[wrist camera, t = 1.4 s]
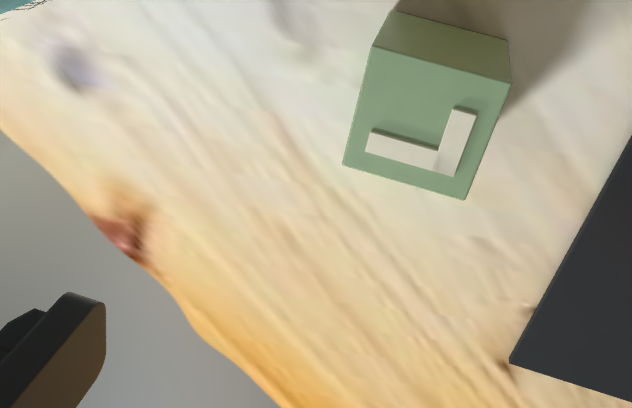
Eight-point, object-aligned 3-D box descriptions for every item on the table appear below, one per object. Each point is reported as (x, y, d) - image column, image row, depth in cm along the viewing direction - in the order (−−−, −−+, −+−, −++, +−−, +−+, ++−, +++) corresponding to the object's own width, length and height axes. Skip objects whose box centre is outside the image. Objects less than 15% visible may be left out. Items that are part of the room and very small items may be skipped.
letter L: (390, 9, 23) (371, 46, 19) (508, 40, 23) (513, 84, 19) (362, 115, 26) (340, 167, 22) (468, 146, 25) (464, 204, 21)
